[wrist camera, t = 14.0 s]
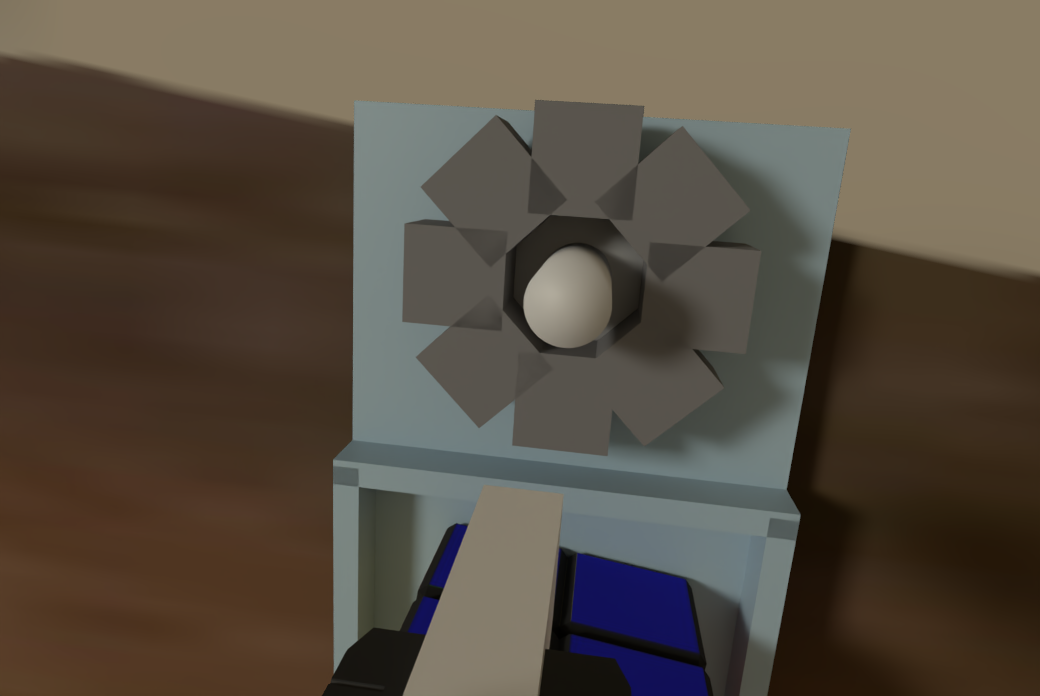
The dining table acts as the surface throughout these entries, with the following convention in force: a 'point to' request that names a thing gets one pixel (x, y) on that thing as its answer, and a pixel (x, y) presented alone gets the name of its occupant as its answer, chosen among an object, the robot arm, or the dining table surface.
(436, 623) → the robot arm
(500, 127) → the wheel
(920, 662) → the dining table surface
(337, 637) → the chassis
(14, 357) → the dining table surface
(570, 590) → the puzzle cube
